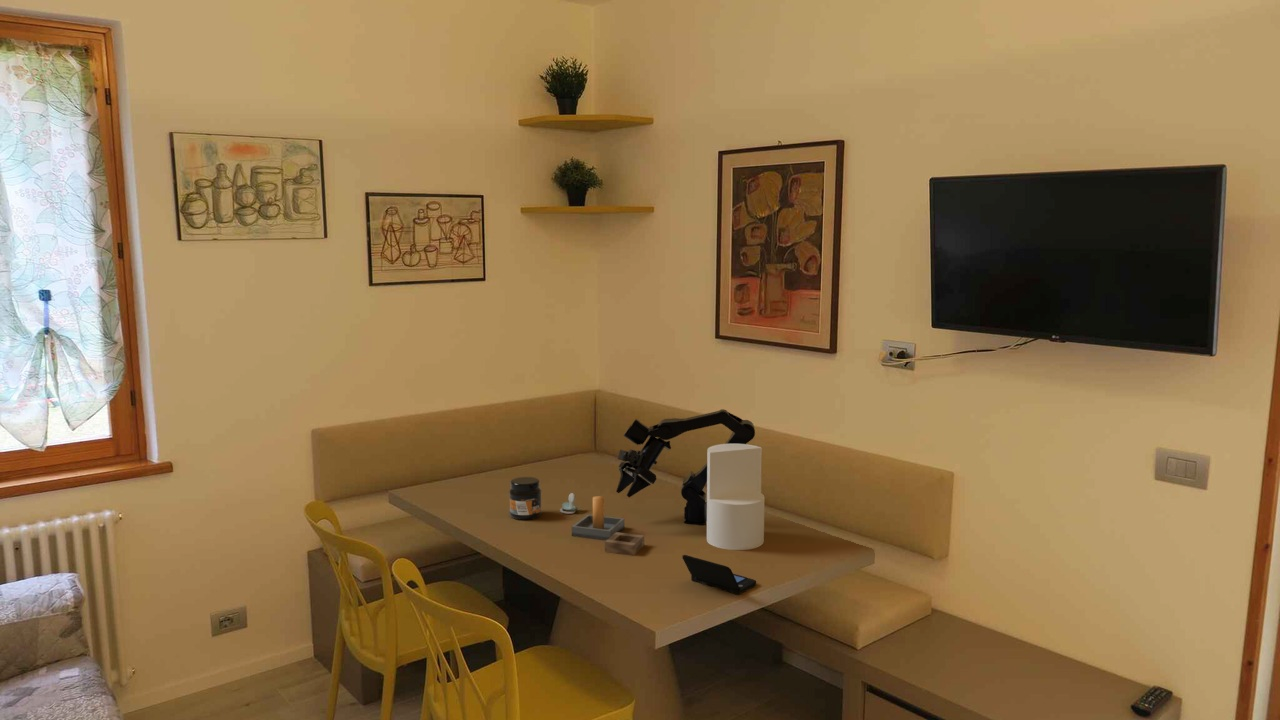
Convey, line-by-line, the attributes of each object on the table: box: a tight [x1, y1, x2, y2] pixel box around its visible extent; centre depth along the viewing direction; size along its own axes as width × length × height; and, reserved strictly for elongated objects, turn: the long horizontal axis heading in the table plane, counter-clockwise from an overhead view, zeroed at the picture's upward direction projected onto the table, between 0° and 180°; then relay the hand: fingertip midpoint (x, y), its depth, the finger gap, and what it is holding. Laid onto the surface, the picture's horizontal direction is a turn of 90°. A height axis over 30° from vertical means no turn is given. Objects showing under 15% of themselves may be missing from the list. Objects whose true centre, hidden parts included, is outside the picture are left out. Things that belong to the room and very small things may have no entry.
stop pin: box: [592, 495, 605, 529], centre depth 276 cm, size 4×4×10 cm
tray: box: [571, 514, 625, 541], centre depth 276 cm, size 13×13×3 cm
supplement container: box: [508, 476, 542, 521], centre depth 292 cm, size 10×10×12 cm
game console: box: [681, 554, 757, 596], centre depth 234 cm, size 16×14×9 cm
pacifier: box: [559, 492, 581, 515], centre depth 297 cm, size 7×6×6 cm
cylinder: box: [706, 443, 765, 551], centre depth 267 cm, size 17×17×28 cm
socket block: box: [604, 532, 645, 556], centre depth 262 cm, size 9×9×3 cm
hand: (622, 494), depth 280 cm, fingers open, 9 cm apart
